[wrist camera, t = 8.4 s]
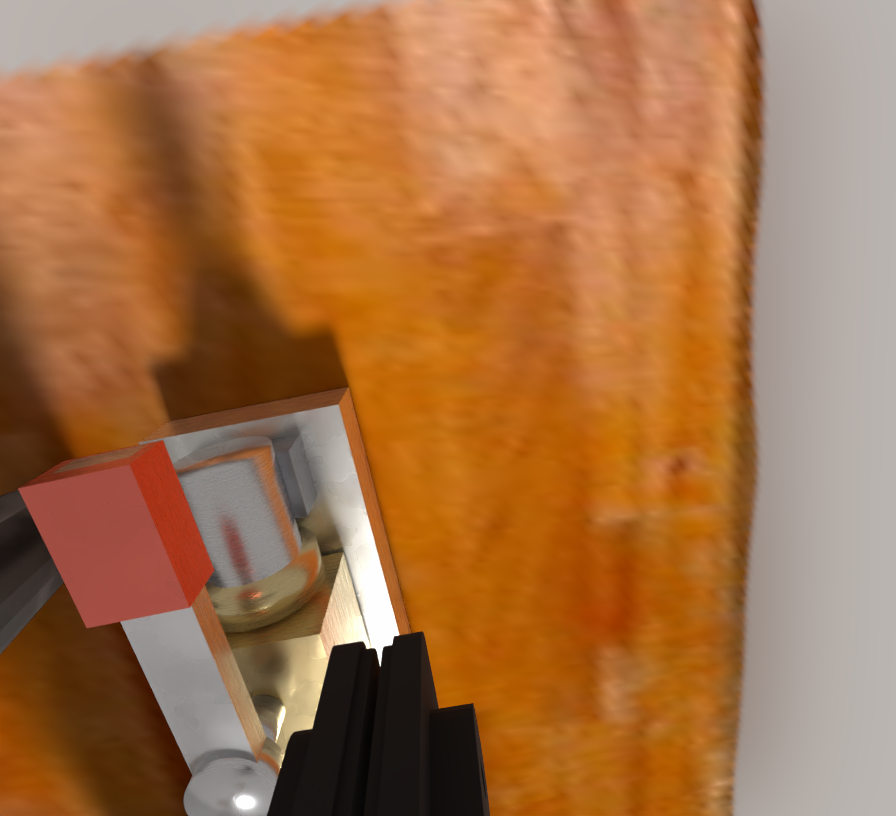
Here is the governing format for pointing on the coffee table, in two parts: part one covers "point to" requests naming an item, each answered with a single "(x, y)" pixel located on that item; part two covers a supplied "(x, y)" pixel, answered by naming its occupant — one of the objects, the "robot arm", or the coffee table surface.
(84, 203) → the coffee table surface
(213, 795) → the valve lever
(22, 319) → the coffee table surface
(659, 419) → the coffee table surface
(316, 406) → the pipe valve board
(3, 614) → the beverage cup
